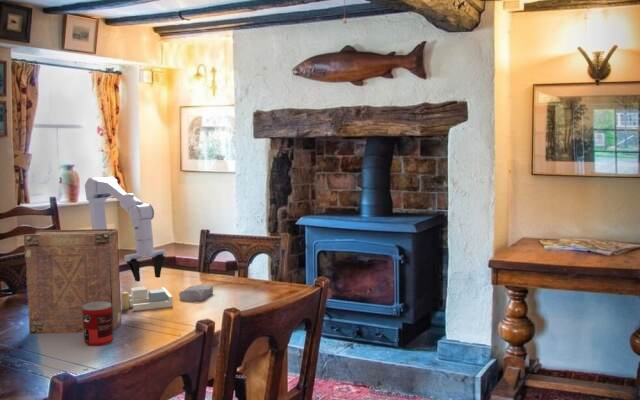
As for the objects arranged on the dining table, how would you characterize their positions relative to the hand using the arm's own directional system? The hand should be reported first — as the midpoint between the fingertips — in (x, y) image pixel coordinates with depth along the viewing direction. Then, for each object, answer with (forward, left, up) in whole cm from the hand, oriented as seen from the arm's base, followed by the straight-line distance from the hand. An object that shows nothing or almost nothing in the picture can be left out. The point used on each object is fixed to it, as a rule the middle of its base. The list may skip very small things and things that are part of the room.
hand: (147, 279), depth 226 cm
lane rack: (-6, +1, -10) cm, 11 cm away
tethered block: (-2, -1, -10) cm, 10 cm away
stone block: (-8, +18, -10) cm, 22 cm away
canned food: (+33, -19, -10) cm, 39 cm away
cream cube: (-9, -2, -10) cm, 14 cm away
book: (+15, -24, -10) cm, 30 cm away
